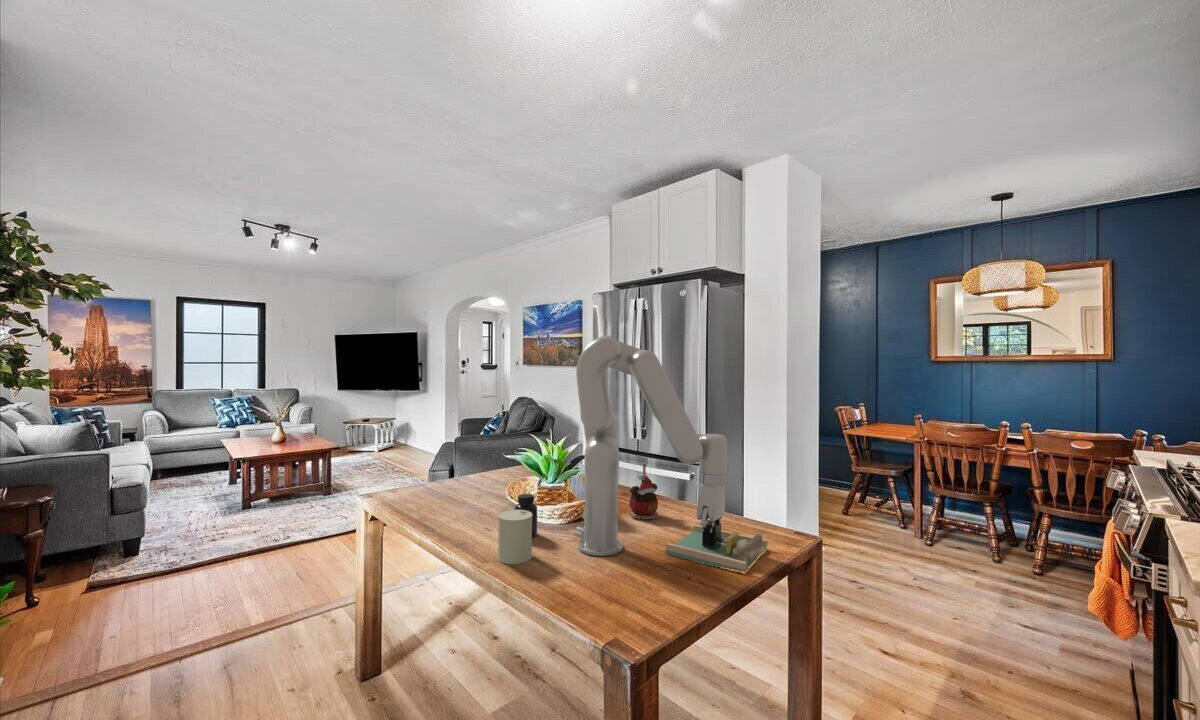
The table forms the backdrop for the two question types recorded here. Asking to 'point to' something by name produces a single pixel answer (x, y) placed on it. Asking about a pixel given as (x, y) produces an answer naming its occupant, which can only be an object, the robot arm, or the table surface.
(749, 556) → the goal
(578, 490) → the snack box
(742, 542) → the ball
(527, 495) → the supplement bottle
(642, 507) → the santa hat candy apple
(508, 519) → the can
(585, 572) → the table surface
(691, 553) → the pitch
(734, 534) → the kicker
